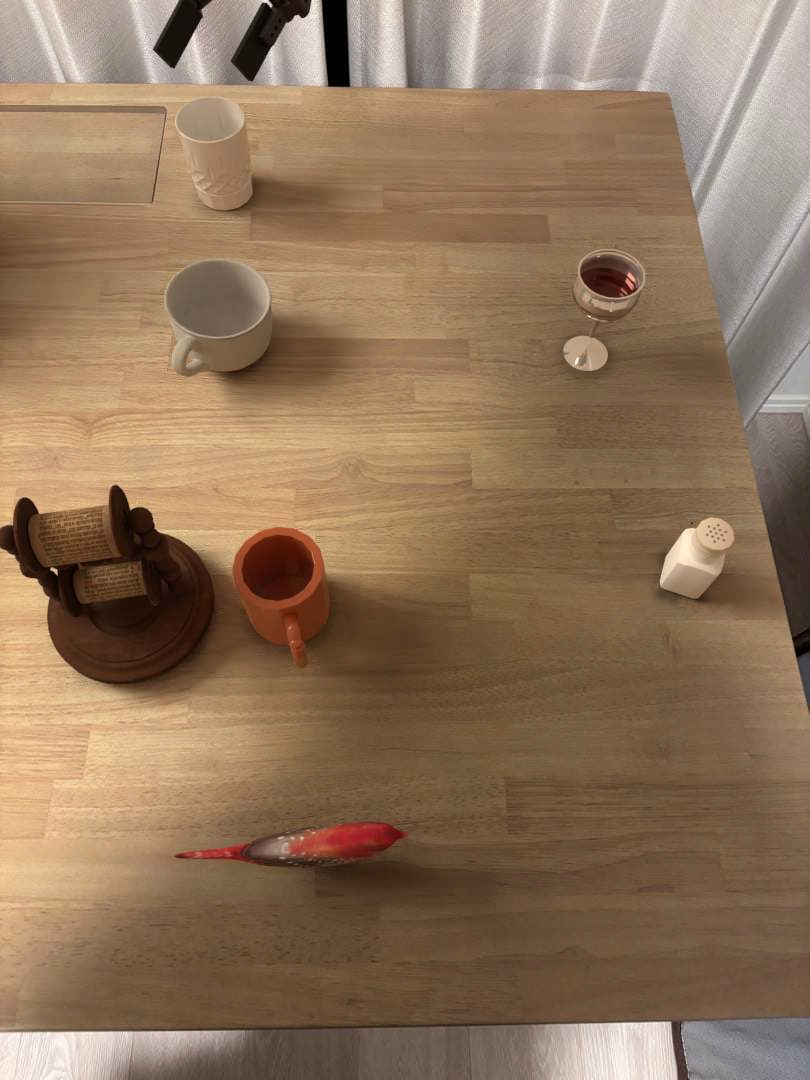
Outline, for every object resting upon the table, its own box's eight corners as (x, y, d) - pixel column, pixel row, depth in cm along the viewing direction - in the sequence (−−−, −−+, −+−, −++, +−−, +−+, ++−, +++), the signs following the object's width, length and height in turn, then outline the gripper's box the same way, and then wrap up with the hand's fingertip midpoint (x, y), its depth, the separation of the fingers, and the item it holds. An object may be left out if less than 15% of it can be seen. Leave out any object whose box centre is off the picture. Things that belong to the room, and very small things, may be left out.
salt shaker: (697, 602, 78) (735, 560, 70) (656, 589, 79) (688, 545, 70) (705, 566, 80) (743, 521, 72) (665, 553, 81) (697, 507, 72)
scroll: (212, 531, 81) (161, 413, 63) (223, 675, 74) (170, 588, 56) (58, 554, 79) (-39, 438, 62) (55, 702, 73) (-53, 621, 55)
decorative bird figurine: (408, 864, 68) (411, 851, 59) (190, 883, 67) (159, 872, 58) (405, 827, 69) (408, 809, 60) (191, 845, 68) (161, 829, 59)
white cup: (193, 171, 103) (175, 97, 94) (257, 168, 104) (244, 94, 95) (193, 216, 100) (174, 144, 91) (259, 212, 100) (246, 140, 91)
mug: (242, 580, 79) (225, 538, 70) (319, 561, 80) (312, 518, 72) (264, 686, 74) (248, 654, 66) (346, 664, 75) (341, 630, 67)
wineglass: (573, 385, 89) (599, 308, 79) (544, 340, 92) (564, 260, 81) (627, 365, 91) (659, 287, 80) (596, 322, 94) (623, 240, 83)
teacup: (225, 294, 94) (211, 240, 87) (299, 338, 92) (292, 286, 85) (140, 373, 89) (118, 323, 82) (216, 422, 87) (201, 374, 79)
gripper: (404, -85, 81) (301, 104, 82) (247, -84, 95) (159, 78, 95) (364, -158, 75) (253, 47, 76) (202, -146, 89) (108, 28, 89)
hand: (200, 65), depth 85 cm, fingers open, 13 cm apart
